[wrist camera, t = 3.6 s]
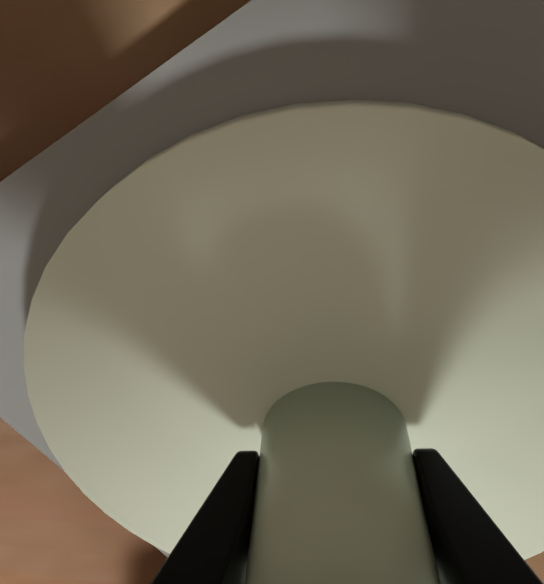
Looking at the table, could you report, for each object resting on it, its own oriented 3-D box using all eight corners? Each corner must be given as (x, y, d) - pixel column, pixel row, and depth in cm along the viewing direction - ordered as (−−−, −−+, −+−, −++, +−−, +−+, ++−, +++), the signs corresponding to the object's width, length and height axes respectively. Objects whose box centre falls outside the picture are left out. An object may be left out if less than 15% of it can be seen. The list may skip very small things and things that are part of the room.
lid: (560, -112, 6) (1160, -375, 2) (705, 493, 11) (928, 775, 7) (-85, 311, 10) (-356, 525, 6) (247, 599, 15) (224, 814, 11)
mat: (610, -257, 5) (636, -279, 5) (738, 484, 12) (754, 503, 11) (-132, 279, 10) (-151, 291, 10) (239, 600, 17) (238, 616, 16)
